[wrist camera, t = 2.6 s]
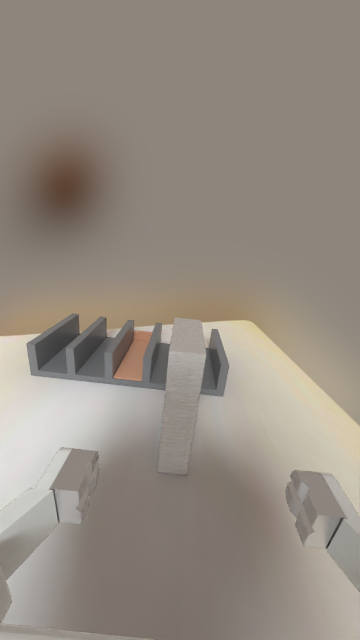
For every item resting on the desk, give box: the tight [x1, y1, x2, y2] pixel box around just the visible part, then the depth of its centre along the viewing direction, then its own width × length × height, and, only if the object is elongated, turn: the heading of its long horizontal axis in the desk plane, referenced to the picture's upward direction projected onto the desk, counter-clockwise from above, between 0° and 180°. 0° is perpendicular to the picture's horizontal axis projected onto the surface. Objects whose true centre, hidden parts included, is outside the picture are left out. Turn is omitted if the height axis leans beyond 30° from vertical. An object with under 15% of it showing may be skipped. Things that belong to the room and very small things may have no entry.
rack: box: [27, 314, 229, 396], centre depth 41 cm, size 30×15×6 cm, turn 88°
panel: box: [157, 318, 206, 475], centre depth 24 cm, size 3×8×14 cm, turn 178°
